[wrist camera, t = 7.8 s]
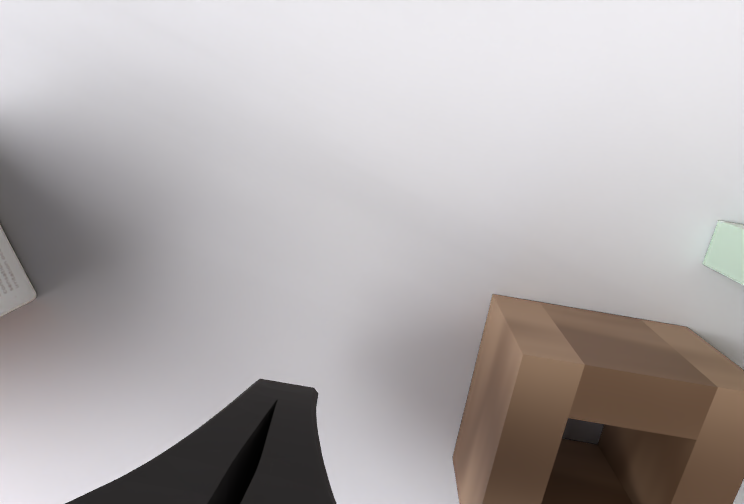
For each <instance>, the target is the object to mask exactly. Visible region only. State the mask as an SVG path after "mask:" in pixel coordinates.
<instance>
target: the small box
mask: <svg viewBox="0 0 744 504" xmlns="http://www.w3.org/2000/svg"><path fill="white" fill-rule="evenodd" d="M35 298H36V292H35V290H34V288H33V286H32V284H31V282H30V280H29V279H28V277H27V275H26V273H25V271H24V269H23V267H22V265H21V264H20V262H19V260H18V258H17V256H16V254H15V252H14V250H13V248H12V247H11V245H10V243H9V241H8V239H7V237H6V235H5V233H4V231H3V229H2V227H1V225H0V317H2V316H3V315H5V314H7V313H9V312H11V311H13V310H15V309H17V308H19V307H21V306H23V305H25V304H27V303H29V302H31V301H33V300H34V299H35Z"/></svg>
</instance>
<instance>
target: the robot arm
mask: <svg viewBox="0 0 744 504" xmlns="http://www.w3.org/2000/svg"><path fill="white" fill-rule="evenodd" d="M317 399H318V393H317V391H316V390H315V388H311V387H306V386H300V385H294V384H288V383H282V382H276V381H270V380H264V379H259V380H258V381H256V382H255V383H254V384H252V385H251V386H250V387H249V388H248V389H247V390H246V391H244V392H243V393H242V394H241V395H240V396H239V397H237V398H236V399H235V400H234V401H233V402H231V403H230V404H229V405H228V406H227V407H225V408H224V409H223V410H222V411H220V412H219V413H218V414H216V415H215V416H214V417H213V418H211V419H210V420H209V421H207V422H206V423H205V424H204V425H202V426H201V427H200V428H198V429H197V430H195V431H194V432H193V433H191V434H190V435H188V436H187V437H185V438H184V439H182V440H181V441H180V442H178V443H177V444H175V445H174V446H172V447H171V448H169V449H168V450H166V451H165V452H163V453H162V454H160V455H159V456H157V457H155V458H154V459H152V460H151V461H149V462H147V463H146V464H144V465H142V466H140V467H138V468H137V469H135V470H133V471H131V472H129V473H128V474H126V475H124V476H122V477H120V478H118V479H116V480H114V481H112V482H110V483H108V484H106V485H104V486H102V487H99V488H97V489H95V490H93V491H91V492H89V493H87V494H85V495H83V496H81V497H78V498H76V499H74V500H72V501H70V502H68V503H65V504H336V501H335V499H334V496H333V493H332V490H331V486H330V483H329V480H328V476H327V473H326V469H325V465H324V461H323V457H322V453H321V447H320V442H319V436H318V429H317V419H316V405H317Z"/></svg>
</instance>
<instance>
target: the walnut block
mask: <svg viewBox="0 0 744 504" xmlns="http://www.w3.org/2000/svg"><path fill="white" fill-rule="evenodd" d="M568 418H570V419H576V420H582V421H588V422H594V423H600V424H604V427H603V430H602V433H601V436H600V439H599V442H598V445H597V444H592V443H586V442H580V441H574V440H568V439H562V436H563V433H564V430H565V427H566V423H567V420H568ZM453 464H454V471H455V477H456V483H457V490H458V496H459V503H460V504H733V502H734V499H735V497H736V495H737V493H738V490H739V488H740V486H741V484H742V481H743V479H744V370H743V369H742V368H740V367H739V366H738V365H736V364H735V363H734V362H732V361H731V360H730V359H728V358H727V357H726V356H724V355H723V354H722V353H720V352H719V351H718V350H717V349H715V348H714V347H713V346H711V345H710V344H709V343H707V342H706V341H705V340H703V339H702V338H701V337H699V336H698V335H697V334H695V333H694V332H693V331H692V330H690V329H689V328H688V327H684V326H678V325H672V324H666V323H660V322H655V321H649V320H643V319H637V318H631V317H625V316H619V315H613V314H607V313H601V312H595V311H589V310H584V309H578V308H572V307H566V306H560V305H554V304H548V303H542V302H536V301H530V300H524V299H518V298H513V297H507V296H501V295H495V294H493V295H492V299H491V303H490V307H489V311H488V315H487V319H486V323H485V327H484V331H483V336H482V340H481V344H480V348H479V352H478V356H477V360H476V364H475V368H474V372H473V376H472V380H471V384H470V388H469V393H468V397H467V401H466V405H465V409H464V413H463V417H462V421H461V425H460V429H459V433H458V437H457V441H456V446H455V450H454V454H453Z"/></svg>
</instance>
